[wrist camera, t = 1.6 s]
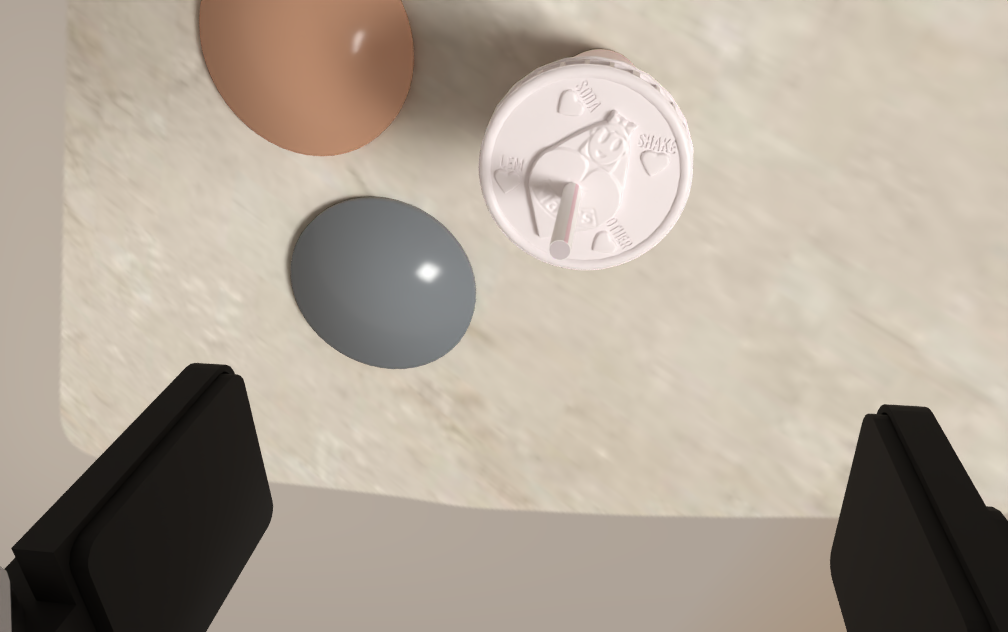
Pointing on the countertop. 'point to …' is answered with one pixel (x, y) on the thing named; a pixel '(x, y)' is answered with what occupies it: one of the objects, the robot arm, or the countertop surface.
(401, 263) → the grey pebble
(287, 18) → the orange brown disc
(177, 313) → the countertop surface
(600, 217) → the smoothie
